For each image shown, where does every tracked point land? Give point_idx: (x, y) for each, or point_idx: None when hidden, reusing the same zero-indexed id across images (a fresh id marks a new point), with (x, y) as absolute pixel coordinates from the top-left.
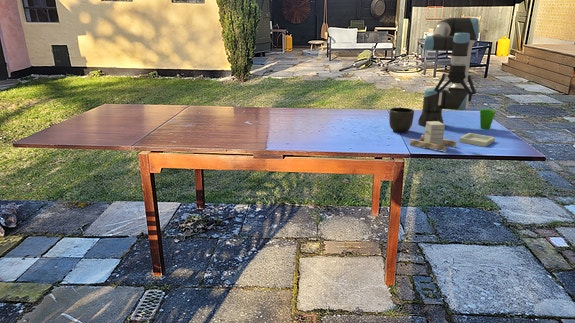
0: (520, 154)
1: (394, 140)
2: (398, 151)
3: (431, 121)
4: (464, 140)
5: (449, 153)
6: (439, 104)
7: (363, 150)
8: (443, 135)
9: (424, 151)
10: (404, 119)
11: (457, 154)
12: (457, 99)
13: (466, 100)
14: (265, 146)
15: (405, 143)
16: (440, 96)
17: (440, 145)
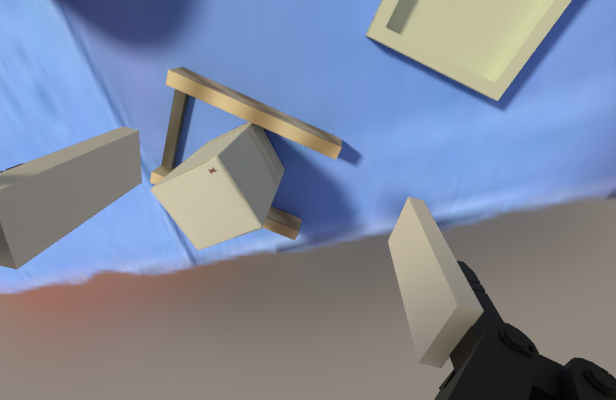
0: (610, 172)
1: (80, 119)
2: (155, 251)
3: (176, 179)
4: (393, 49)
5: (313, 232)
6: (134, 186)
7: (63, 266)
8: (274, 196)
9: None
10: None
11: (341, 235)
12: None
13: (403, 298)
14: None
15: None
16: (63, 234)
17: (275, 228)
